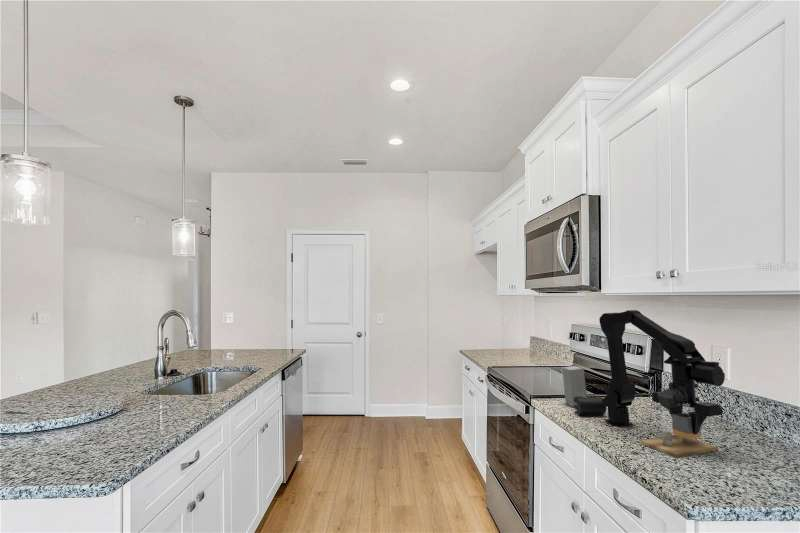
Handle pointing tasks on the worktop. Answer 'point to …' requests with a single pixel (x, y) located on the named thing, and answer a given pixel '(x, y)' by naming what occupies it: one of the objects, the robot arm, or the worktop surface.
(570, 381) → the skincare box
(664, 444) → the pin board
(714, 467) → the worktop surface
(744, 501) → the worktop surface
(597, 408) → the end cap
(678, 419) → the sleeve
